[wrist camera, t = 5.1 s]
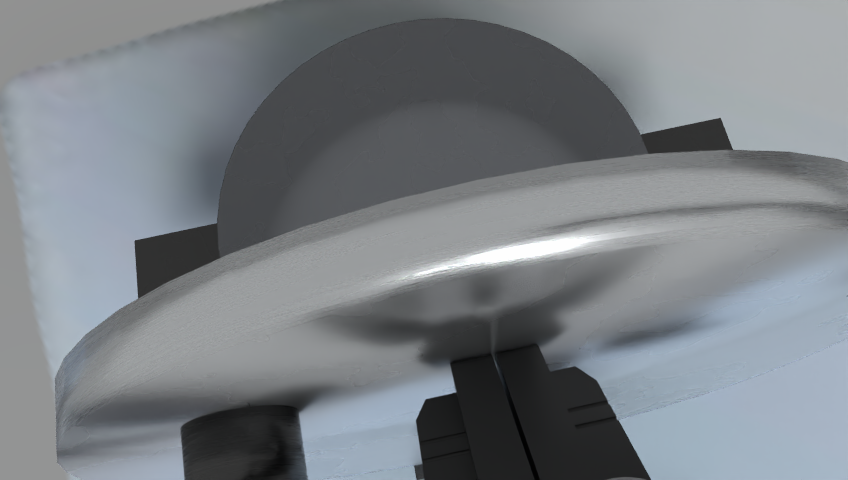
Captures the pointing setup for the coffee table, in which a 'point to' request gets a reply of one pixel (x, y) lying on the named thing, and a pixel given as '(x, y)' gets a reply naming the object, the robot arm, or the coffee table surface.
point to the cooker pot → (408, 133)
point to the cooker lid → (462, 313)
